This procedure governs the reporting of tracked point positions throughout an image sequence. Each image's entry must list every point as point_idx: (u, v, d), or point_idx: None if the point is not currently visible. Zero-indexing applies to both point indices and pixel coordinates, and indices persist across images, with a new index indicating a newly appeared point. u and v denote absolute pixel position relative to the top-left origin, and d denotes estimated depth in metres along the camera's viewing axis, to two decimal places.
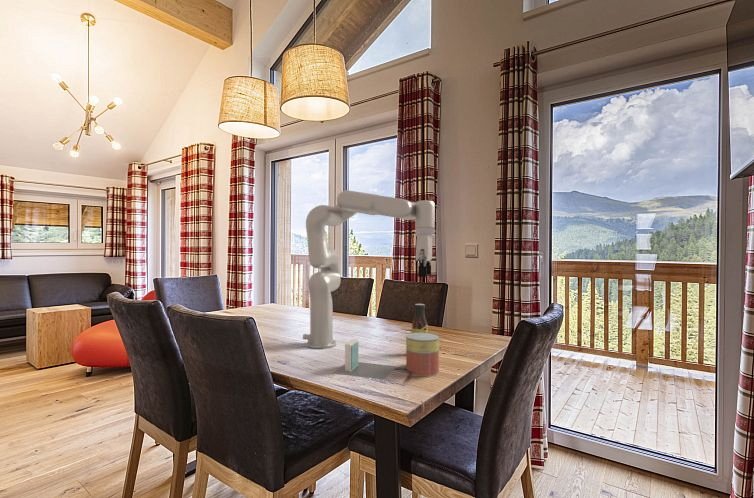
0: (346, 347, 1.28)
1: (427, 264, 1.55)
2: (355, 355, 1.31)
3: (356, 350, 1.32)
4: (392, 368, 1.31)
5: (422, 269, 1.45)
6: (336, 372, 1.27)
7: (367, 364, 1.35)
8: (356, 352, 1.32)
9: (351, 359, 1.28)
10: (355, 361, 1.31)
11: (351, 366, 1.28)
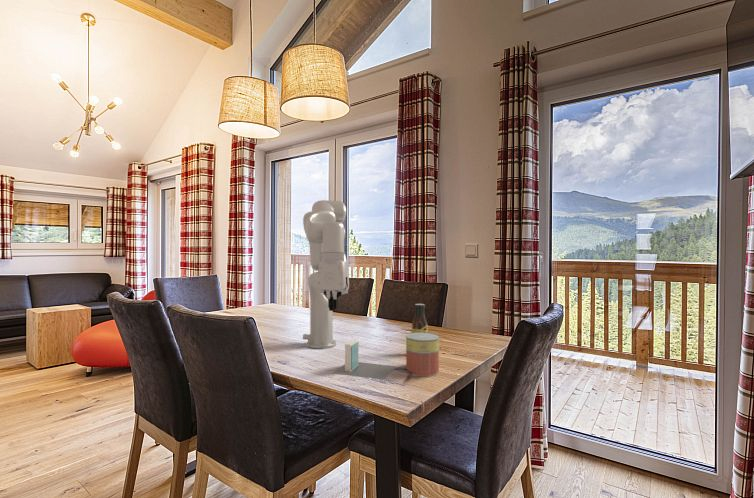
0: (346, 347, 1.28)
1: (332, 297, 1.33)
2: (355, 355, 1.31)
3: (356, 350, 1.32)
4: (392, 368, 1.31)
5: (337, 302, 1.33)
6: (336, 372, 1.27)
7: (367, 364, 1.35)
8: (356, 352, 1.32)
9: (351, 359, 1.28)
10: (355, 361, 1.31)
11: (351, 366, 1.28)
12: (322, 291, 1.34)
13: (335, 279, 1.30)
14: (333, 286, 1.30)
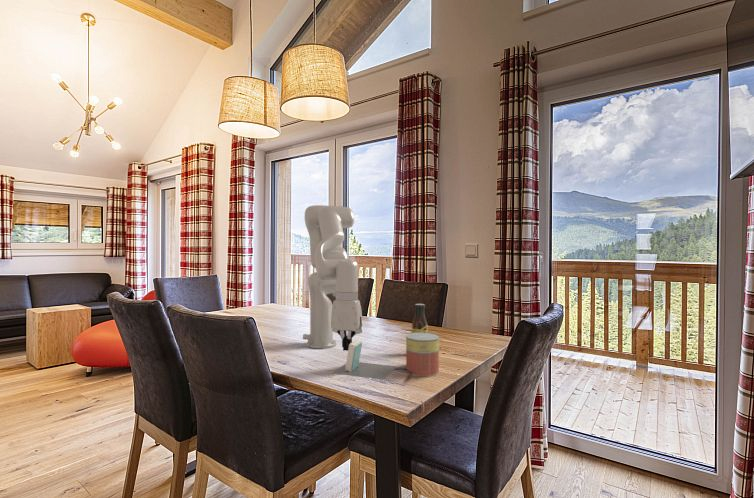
0: (350, 347, 1.28)
1: (346, 337, 1.32)
2: (357, 356, 1.31)
3: (359, 351, 1.32)
4: (392, 368, 1.31)
5: (351, 341, 1.31)
6: (336, 372, 1.27)
7: (367, 364, 1.35)
8: (358, 353, 1.32)
9: (353, 360, 1.28)
10: (356, 361, 1.31)
11: (352, 366, 1.28)
12: (336, 330, 1.32)
13: (349, 319, 1.28)
14: (347, 326, 1.29)
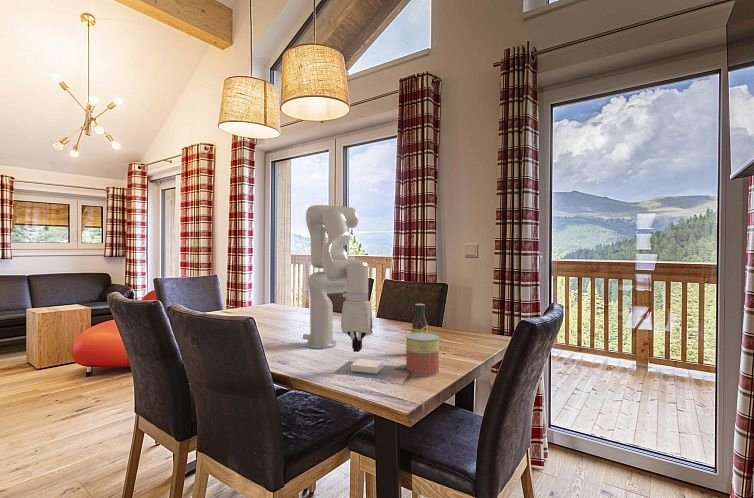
0: (373, 368, 1.25)
1: (356, 338, 1.31)
2: None
3: None
4: (392, 368, 1.31)
5: (361, 342, 1.30)
6: (336, 372, 1.27)
7: None
8: None
9: (362, 371, 1.27)
10: None
11: (356, 371, 1.28)
12: (346, 331, 1.31)
13: (360, 320, 1.27)
14: (358, 327, 1.27)
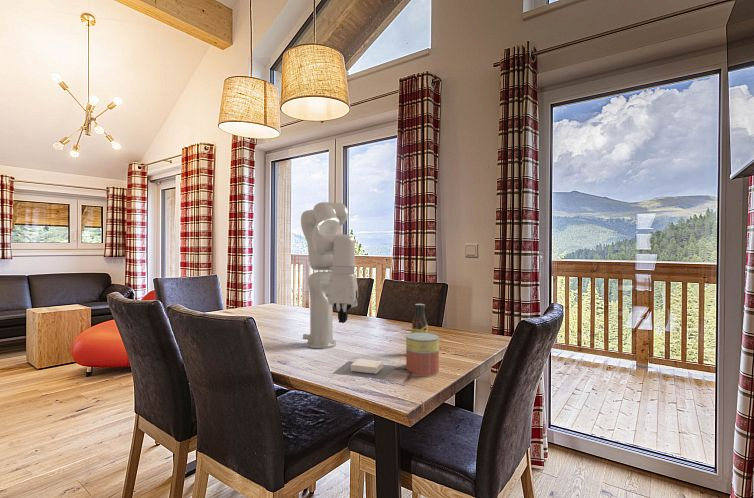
0: (373, 368, 1.25)
1: (342, 310, 1.36)
2: None
3: None
4: (392, 368, 1.31)
5: (346, 314, 1.35)
6: (336, 372, 1.27)
7: None
8: None
9: (362, 371, 1.27)
10: None
11: (356, 371, 1.28)
12: (332, 303, 1.36)
13: (345, 293, 1.32)
14: (343, 299, 1.32)
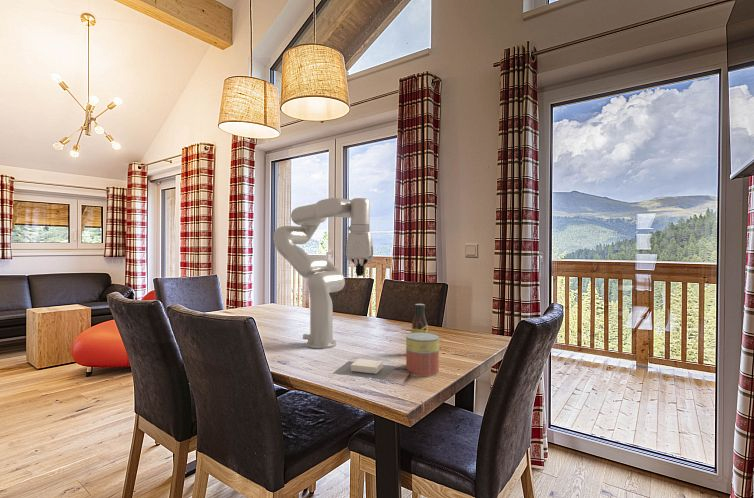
0: (373, 368, 1.25)
1: (359, 264, 1.53)
2: None
3: None
4: (392, 368, 1.31)
5: (363, 268, 1.52)
6: (336, 372, 1.27)
7: None
8: None
9: (362, 371, 1.27)
10: None
11: (356, 371, 1.28)
12: (350, 259, 1.53)
13: (362, 248, 1.49)
14: (360, 254, 1.49)
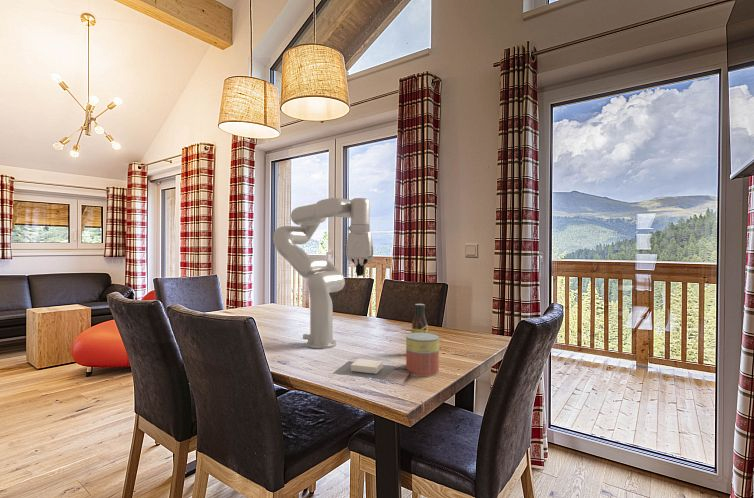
0: (373, 368, 1.25)
1: (359, 264, 1.53)
2: None
3: None
4: (392, 368, 1.31)
5: (363, 268, 1.52)
6: (336, 372, 1.27)
7: None
8: None
9: (362, 371, 1.27)
10: None
11: (356, 371, 1.28)
12: (350, 259, 1.53)
13: (362, 248, 1.49)
14: (360, 254, 1.49)
